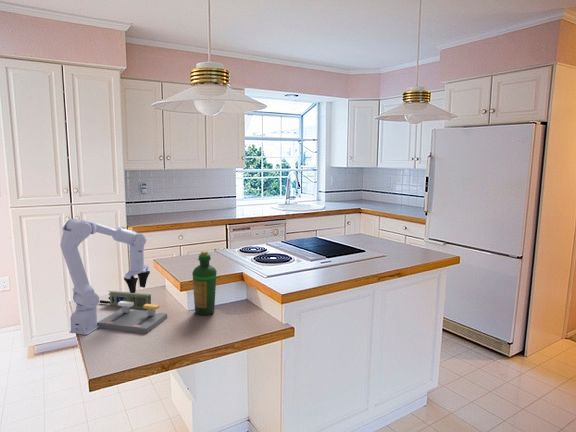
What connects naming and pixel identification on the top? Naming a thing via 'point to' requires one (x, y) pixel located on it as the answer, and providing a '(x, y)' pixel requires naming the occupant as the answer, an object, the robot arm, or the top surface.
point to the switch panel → (132, 321)
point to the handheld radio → (128, 299)
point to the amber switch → (151, 308)
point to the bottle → (204, 285)
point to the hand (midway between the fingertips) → (137, 289)
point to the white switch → (125, 306)
